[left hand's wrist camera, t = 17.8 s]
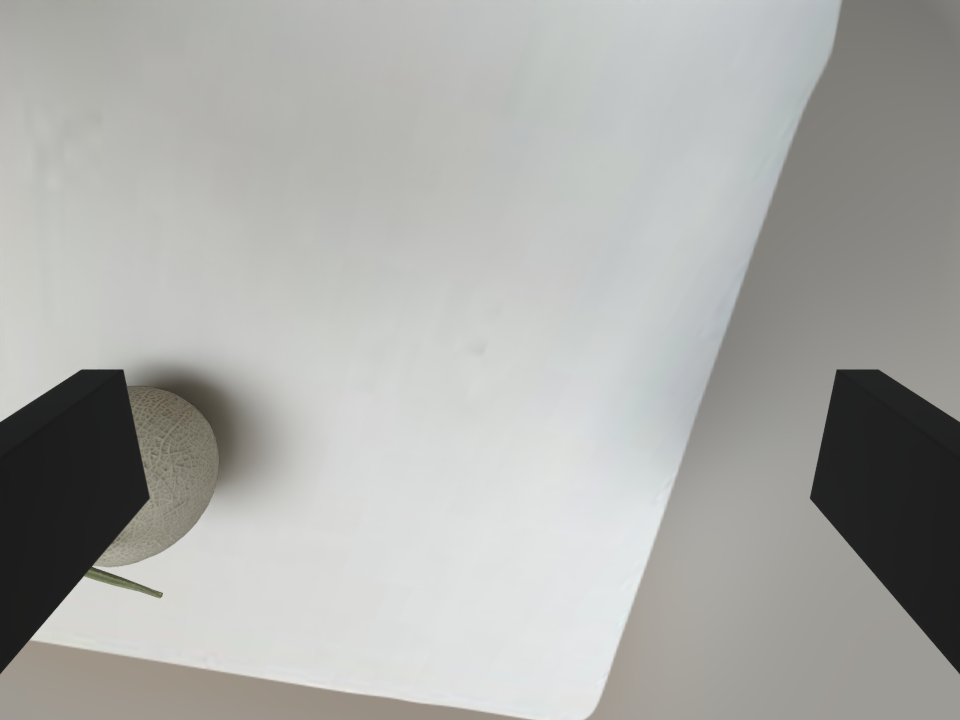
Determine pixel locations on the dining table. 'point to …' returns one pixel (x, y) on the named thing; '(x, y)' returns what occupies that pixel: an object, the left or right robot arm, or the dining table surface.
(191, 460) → the fruit
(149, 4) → the dining table surface
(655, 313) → the dining table surface
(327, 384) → the dining table surface
